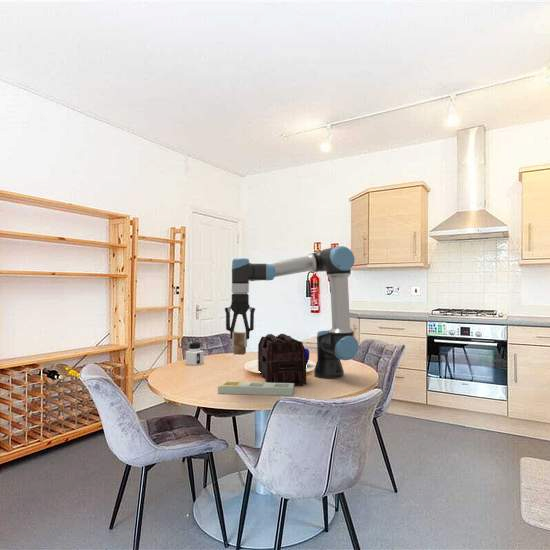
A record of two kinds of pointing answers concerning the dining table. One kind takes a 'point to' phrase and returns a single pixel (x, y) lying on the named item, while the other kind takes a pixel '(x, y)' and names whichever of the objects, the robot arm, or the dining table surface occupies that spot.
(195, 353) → the container
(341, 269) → the robot arm
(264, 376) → the crate
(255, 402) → the dining table surface
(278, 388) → the sorting tray
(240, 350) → the walnut block
